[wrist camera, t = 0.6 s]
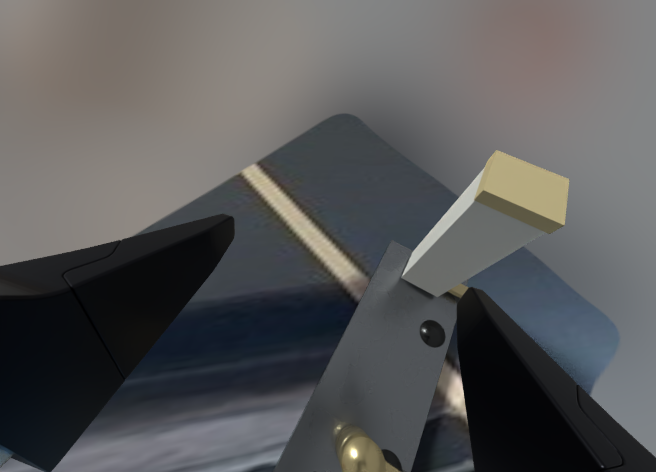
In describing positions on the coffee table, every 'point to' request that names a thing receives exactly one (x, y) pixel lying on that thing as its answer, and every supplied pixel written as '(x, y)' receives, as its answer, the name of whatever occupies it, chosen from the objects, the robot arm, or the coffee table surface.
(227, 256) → the coffee table surface
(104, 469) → the coffee table surface
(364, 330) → the plate
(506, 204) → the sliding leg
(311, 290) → the coffee table surface
